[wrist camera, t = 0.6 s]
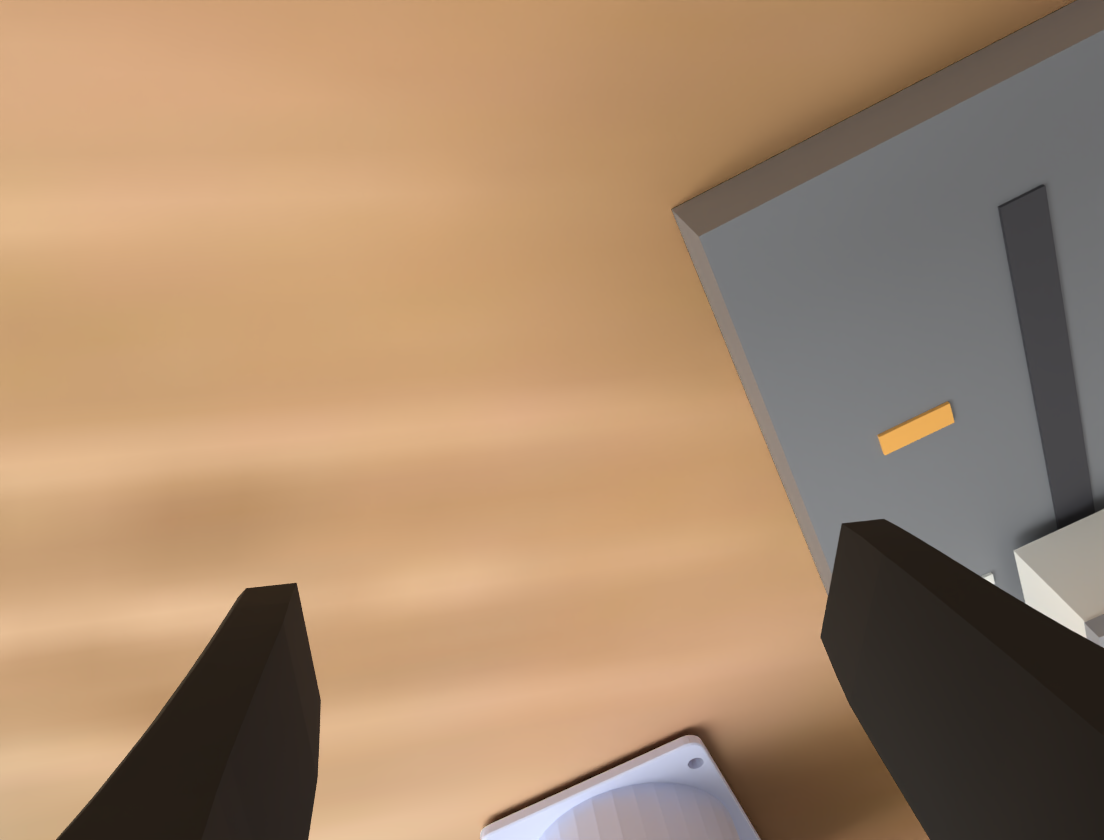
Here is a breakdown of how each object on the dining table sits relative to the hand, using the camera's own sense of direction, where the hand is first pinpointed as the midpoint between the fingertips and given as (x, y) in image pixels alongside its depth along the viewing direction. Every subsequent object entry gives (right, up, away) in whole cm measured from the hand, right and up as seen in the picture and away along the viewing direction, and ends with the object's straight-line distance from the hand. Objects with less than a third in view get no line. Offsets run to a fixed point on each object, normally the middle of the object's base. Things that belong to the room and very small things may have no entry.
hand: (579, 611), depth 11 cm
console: (+12, +3, +12) cm, 17 cm away
